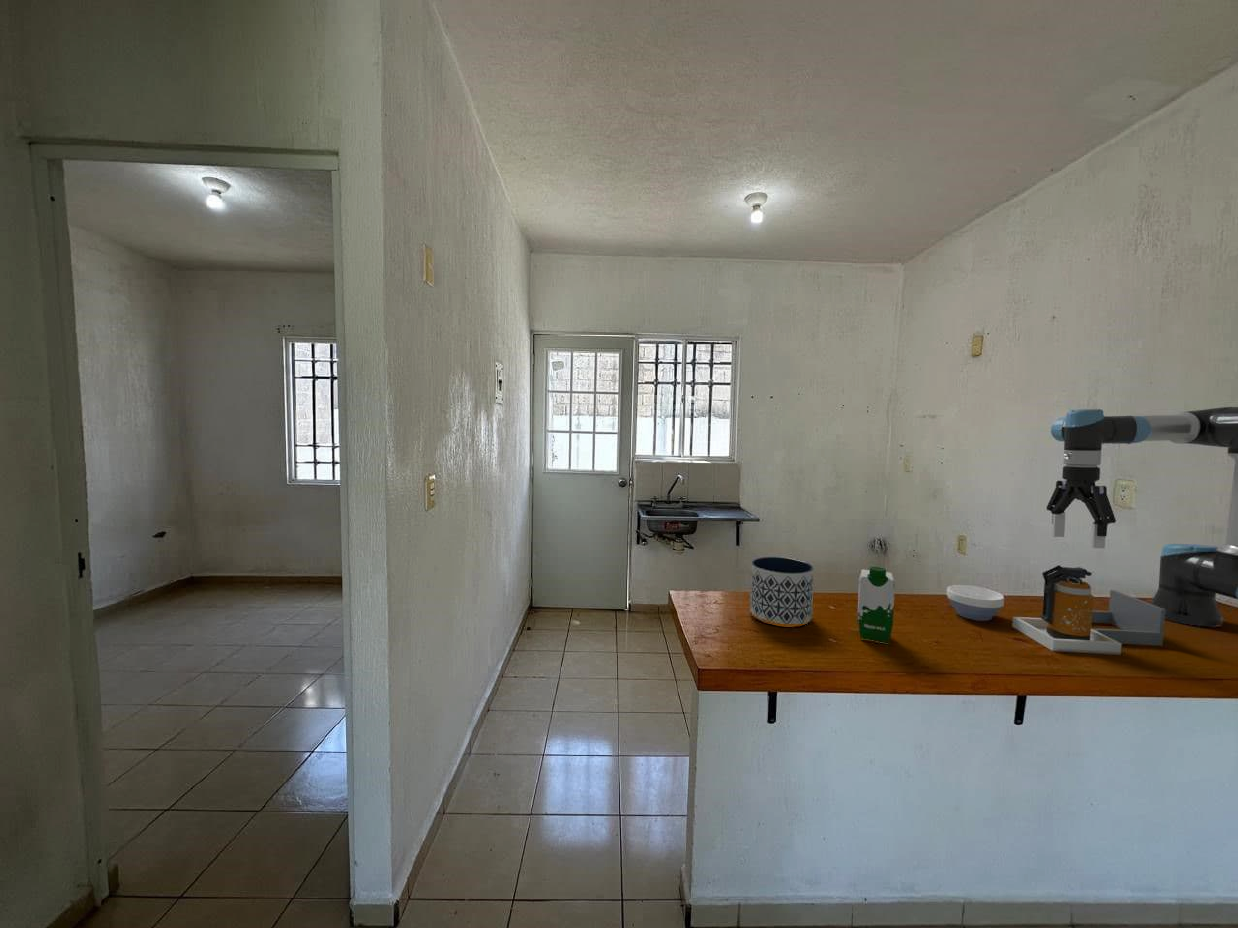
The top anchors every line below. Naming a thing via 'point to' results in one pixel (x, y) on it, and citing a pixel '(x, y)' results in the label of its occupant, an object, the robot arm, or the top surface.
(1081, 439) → the robot arm
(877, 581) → the milk carton
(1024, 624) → the tray
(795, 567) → the planter
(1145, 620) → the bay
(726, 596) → the top surface
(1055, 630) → the canister
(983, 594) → the bowl
